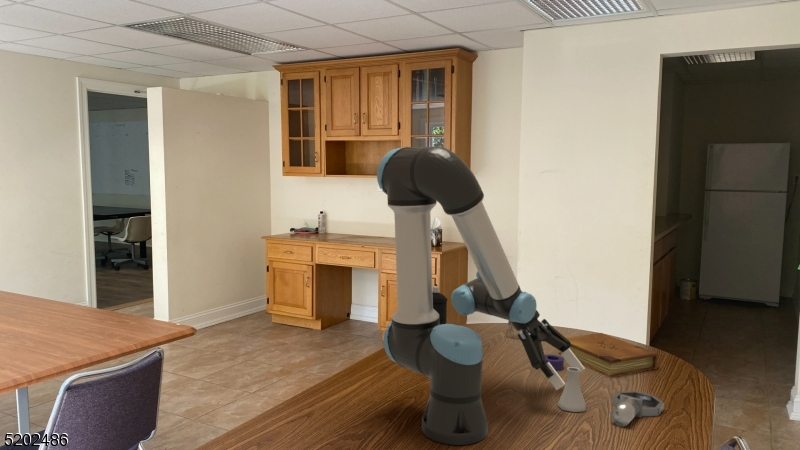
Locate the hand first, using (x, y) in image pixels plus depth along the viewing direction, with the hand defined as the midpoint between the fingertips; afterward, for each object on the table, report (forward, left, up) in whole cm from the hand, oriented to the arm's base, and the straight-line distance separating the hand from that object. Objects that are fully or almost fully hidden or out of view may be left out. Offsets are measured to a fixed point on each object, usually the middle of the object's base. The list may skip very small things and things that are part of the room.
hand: (571, 379), depth 148 cm
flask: (-2, -1, -7) cm, 7 cm away
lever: (+24, +17, -7) cm, 30 cm away
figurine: (+45, +38, -7) cm, 59 cm away
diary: (+39, +4, -7) cm, 40 cm away
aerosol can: (+18, +55, -7) cm, 58 cm away
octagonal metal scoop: (+5, -14, -6) cm, 16 cm away
